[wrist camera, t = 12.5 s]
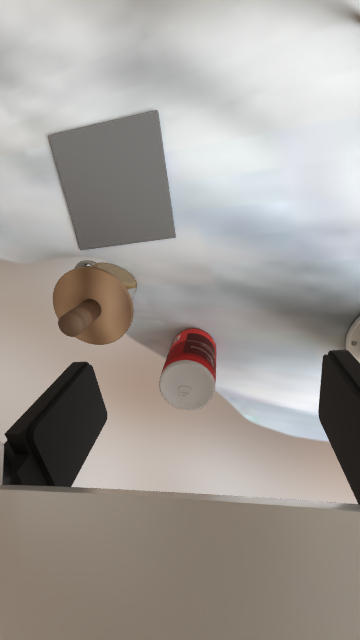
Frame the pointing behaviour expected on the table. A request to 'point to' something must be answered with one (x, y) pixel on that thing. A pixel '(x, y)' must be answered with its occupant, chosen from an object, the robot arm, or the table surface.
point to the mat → (115, 181)
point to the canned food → (189, 370)
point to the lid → (92, 305)
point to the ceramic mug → (115, 274)
